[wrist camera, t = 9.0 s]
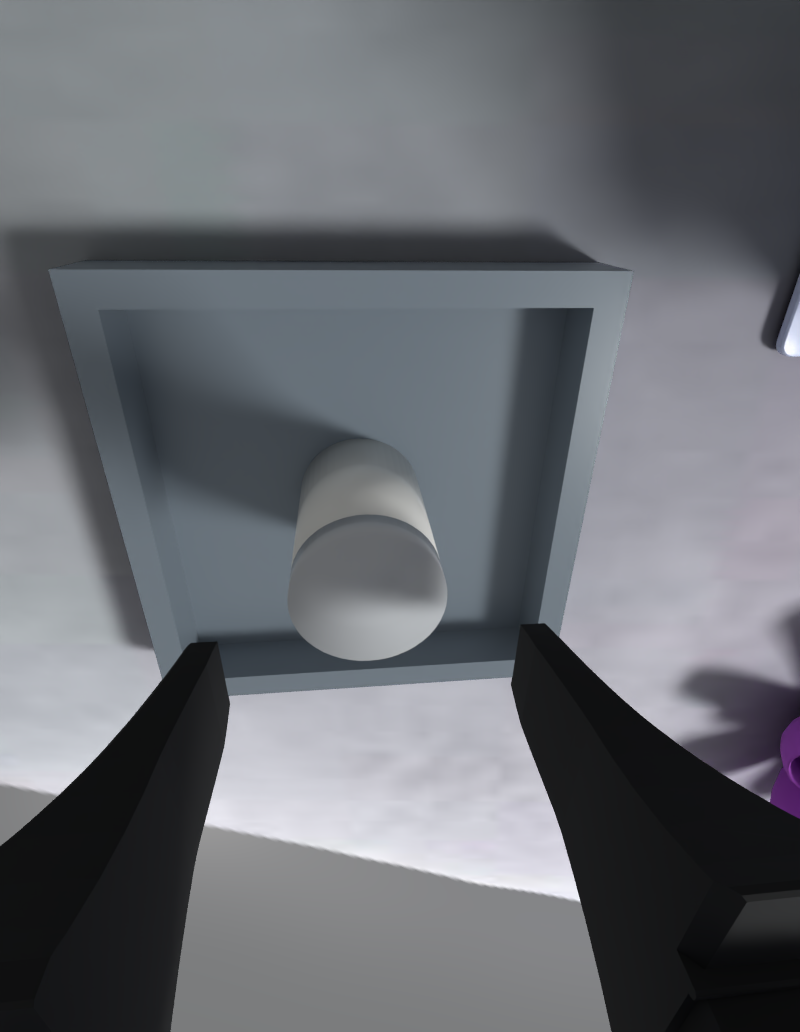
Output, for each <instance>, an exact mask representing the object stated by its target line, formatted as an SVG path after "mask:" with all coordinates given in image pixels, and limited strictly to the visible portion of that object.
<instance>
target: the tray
mask: <svg viewBox="0 0 800 1032" xmlns="http://www.w3.org/2000/svg"><path fill="white" fill-rule="evenodd" d="M48 271H49V274H50V278H51V281H52V285H53V289H54V292H55V296H56V299H57V303H58V307H59V310H60V314H61V317H62V321H63V324H64V328H65V332H66V335H67V339H68V342H69V346H70V350H71V353H72V357H73V360H74V364H75V368H76V371H77V375H78V378H79V382H80V385H81V389H82V393H83V396H84V400H85V403H86V407H87V411H88V414H89V418H90V421H91V425H92V429H93V432H94V436H95V439H96V443H97V446H98V450H99V454H100V457H101V461H102V464H103V468H104V472H105V475H106V479H107V482H108V486H109V490H110V493H111V497H112V500H113V504H114V507H115V511H116V515H117V518H118V522H119V525H120V529H121V533H122V536H123V540H124V543H125V547H126V551H127V554H128V558H129V561H130V565H131V568H132V572H133V576H134V579H135V583H136V586H137V590H138V594H139V597H140V601H141V604H142V608H143V612H144V615H145V619H146V622H147V626H148V629H149V633H150V637H151V640H152V644H153V647H154V651H155V655H156V658H157V662H158V665H159V669H160V673H161V676H162V679H163V678H164V677H165V675H166V674H167V673H168V671H169V670H170V669H171V667H172V666H173V665H174V663H175V662H176V660H177V659H178V658H179V656H180V655H181V654H182V652H183V651H184V649H185V648H186V647H187V646H188V645H189V644H190V643H197V642H215V641H217V642H218V647H219V652H220V657H221V662H222V666H223V671H224V676H225V681H226V686H227V691H228V696H233V695H248V694H263V693H279V692H294V691H309V690H324V689H339V688H355V687H370V686H385V685H400V684H415V683H430V682H446V681H461V680H476V679H491V678H506V677H512V676H513V669H514V663H515V657H516V650H517V644H518V638H519V631H520V625H521V624H537V623H545V624H546V625H547V626H548V627H549V628H550V629H551V630H552V631H553V632H554V633H555V634H556V635H557V636H558V637H559V635H560V630H561V625H562V620H563V615H564V610H565V605H566V601H567V596H568V591H569V586H570V581H571V576H572V571H573V566H574V561H575V557H576V552H577V547H578V542H579V537H580V532H581V527H582V522H583V518H584V513H585V508H586V503H587V498H588V493H589V488H590V483H591V479H592V474H593V469H594V464H595V459H596V454H597V449H598V444H599V440H600V435H601V430H602V425H603V420H604V415H605V410H606V405H607V400H608V396H609V391H610V386H611V381H612V376H613V371H614V366H615V361H616V357H617V352H618V347H619V342H620V337H621V332H622V327H623V322H624V318H625V313H626V308H627V303H628V298H629V293H630V288H631V283H632V279H633V274H634V271H632V270H627V269H623V268H619V267H615V266H611V265H607V264H603V263H599V262H378V261H144V260H85V261H81V262H77V263H73V264H68V265H64V266H60V267H56V268H52V269H48ZM350 439H371V440H376V441H379V442H383V443H385V444H387V445H390V446H391V447H393V448H395V449H396V450H397V451H399V452H400V453H401V454H402V455H403V456H404V457H405V458H406V459H407V460H408V462H409V463H410V464H411V466H412V468H413V470H414V472H415V475H416V478H417V481H418V485H419V488H420V492H421V495H422V499H423V502H424V506H425V509H426V513H427V516H428V520H429V523H430V527H431V531H432V534H433V538H434V541H435V545H436V548H437V552H438V555H439V559H440V562H441V566H442V569H443V573H444V576H445V580H446V585H447V604H446V608H445V611H444V614H443V616H442V618H441V620H440V622H439V624H438V625H437V627H436V628H435V629H434V630H433V632H432V633H431V634H430V635H429V636H428V637H427V638H426V639H425V640H423V641H422V642H421V643H419V644H418V645H417V646H415V647H413V648H411V649H410V650H408V651H406V652H403V653H401V654H399V655H396V656H393V657H389V658H385V659H380V660H371V661H356V660H348V659H342V658H338V657H335V656H332V655H329V654H327V653H325V652H322V651H321V650H319V649H317V648H315V647H314V646H313V645H311V644H310V643H308V642H307V641H306V640H305V639H304V638H303V637H302V636H301V635H300V633H299V632H298V631H297V629H296V628H295V626H294V624H293V623H292V620H291V617H290V615H289V610H288V601H287V597H288V589H289V581H290V573H291V565H292V557H293V549H294V541H295V533H296V525H297V517H298V509H299V501H300V493H301V486H302V480H303V477H304V474H305V472H306V469H307V468H308V466H309V465H310V463H311V462H312V460H313V459H314V458H315V457H316V456H317V455H318V454H319V453H320V452H322V451H323V450H325V449H326V448H328V447H329V446H331V445H333V444H335V443H338V442H341V441H345V440H350Z"/></svg>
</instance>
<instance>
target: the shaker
mask: <svg viewBox="0 0 800 1032" xmlns="http://www.w3.org/2000/svg"><path fill="white" fill-rule="evenodd" d="M287 601H288V610H289V615H290V617H291V620H292V623H293V624H294V626H295V628H296V629H297V631H298V632H299V633H300V635H301V636H302V637H303V638H304V639H305V640H306V641H307V642H308V643H310V644H311V645H313V646H314V647H315V648H317V649H319V650H321V651H322V652H325V653H327V654H329V655H332V656H335V657H338V658H342V659H348V660H356V661H371V660H380V659H385V658H389V657H393V656H396V655H399V654H401V653H403V652H406V651H408V650H410V649H411V648H413V647H415V646H417V645H418V644H419V643H421V642H422V641H423V640H425V639H426V638H427V637H428V636H429V635H430V634H431V633H432V632H433V630H434V629H435V628H436V627H437V625H438V624H439V622H440V620H441V618H442V616H443V614H444V611H445V608H446V604H447V585H446V580H445V576H444V573H443V569H442V566H441V562H440V559H439V555H438V552H437V548H436V545H435V541H434V538H433V534H432V531H431V527H430V523H429V520H428V516H427V513H426V509H425V506H424V502H423V499H422V495H421V492H420V488H419V485H418V481H417V478H416V475H415V472H414V470H413V468H412V466H411V464H410V463H409V462H408V460H407V459H406V458H405V457H404V456H403V455H402V454H401V453H400V452H399V451H397V450H396V449H395V448H393V447H391V446H390V445H387V444H385V443H383V442H379V441H376V440H371V439H350V440H345V441H341V442H338V443H335V444H333V445H331V446H329V447H328V448H326V449H325V450H323V451H322V452H320V453H319V454H318V455H317V456H316V457H315V458H314V459H313V460H312V462H311V463H310V465H309V466H308V468H307V469H306V472H305V474H304V477H303V480H302V486H301V493H300V501H299V509H298V517H297V525H296V533H295V541H294V549H293V557H292V565H291V573H290V581H289V589H288V597H287Z"/></svg>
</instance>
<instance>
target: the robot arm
mask: <svg viewBox="0 0 800 1032" xmlns="http://www.w3.org/2000/svg"><path fill="white" fill-rule="evenodd" d="M776 348H777V351H778V352H779V353H780V354H782V355H785V356H789V357H800V275H799V278H798V280H797V283H796V286H795V289H794V292H793V295H792V298H791V301H790V304H789V307H788V310H787V313H786V315H785V318H784V321H783V324H782V327H781V330H780V333H779V336H778V339H777V343H776ZM511 687H512V691H513V695H514V699H515V703H516V708H517V711H518V715H519V719H520V723H521V726H522V729H523V731H524V734H525V737H526V739H527V742H528V745H529V747H530V750H531V752H532V755H533V758H534V760H535V763H536V765H537V768H538V771H539V773H540V776H541V778H542V781H543V783H544V786H545V789H546V791H547V794H548V796H549V799H550V801H551V804H552V807H553V809H554V812H555V815H556V818H557V821H558V823H559V826H560V829H561V832H562V836H563V839H564V843H565V846H566V850H567V853H568V857H569V860H570V864H571V868H572V871H573V875H574V878H575V882H576V886H577V890H578V893H579V897H580V901H581V905H582V909H583V912H584V916H585V919H586V924H587V928H588V932H589V936H590V940H591V944H592V949H593V952H594V957H595V961H596V965H597V969H598V973H599V977H600V982H601V986H602V990H603V995H604V1000H605V1004H606V1009H607V1013H608V1018H609V1022H610V1027H611V1031H612V1032H800V819H799V818H797V817H795V816H793V815H791V814H789V813H788V812H786V811H784V810H782V809H780V808H779V807H777V806H775V805H773V804H771V803H770V802H768V801H766V800H764V799H763V798H761V797H759V796H757V795H756V794H754V793H752V792H750V791H749V790H747V789H745V788H744V787H742V786H741V785H739V784H737V783H736V782H734V781H732V780H731V779H729V778H727V777H726V776H724V775H723V774H721V773H720V772H718V771H717V770H715V769H714V768H712V767H711V766H709V765H708V764H706V763H705V762H703V761H702V760H700V759H698V758H697V757H696V756H694V755H693V754H691V753H690V752H688V751H687V750H686V749H684V748H683V747H681V746H680V745H679V744H677V743H676V742H675V741H673V740H672V739H671V738H669V737H668V736H667V735H665V734H664V733H663V732H661V731H660V730H659V729H657V728H656V727H655V726H654V725H652V724H651V723H650V722H649V721H647V720H646V719H645V718H644V717H642V716H641V715H640V714H639V713H638V712H637V711H635V710H634V709H633V708H632V707H631V706H630V705H628V704H627V703H626V702H625V701H624V700H623V699H621V698H620V697H619V696H618V695H617V694H616V693H615V692H614V691H613V690H612V689H611V688H610V687H608V686H607V685H606V684H605V683H604V682H603V681H602V680H601V679H600V678H599V677H598V676H597V675H596V674H595V673H594V672H593V671H592V670H591V669H590V668H589V667H588V666H587V665H586V664H585V663H584V662H583V661H582V660H581V659H580V658H579V657H578V656H577V655H576V654H575V653H574V652H573V651H572V650H571V649H570V648H569V647H568V646H567V645H566V644H565V643H564V642H563V641H562V640H561V639H560V638H559V637H558V636H557V635H556V634H555V633H554V632H553V631H552V630H551V629H550V628H549V627H548V626H547V625H546V624H545V623H537V624H521V625H520V631H519V638H518V644H517V650H516V657H515V663H514V669H513V676H512V682H511ZM229 707H230V701H229V696H228V691H227V686H226V681H225V676H224V671H223V666H222V662H221V657H220V652H219V647H218V642H217V641H215V642H197V643H190V644H189V645H188V646H187V647H186V648H185V649H184V651H183V652H182V654H181V655H180V656H179V658H178V659H177V660H176V662H175V663H174V665H173V666H172V667H171V669H170V670H169V671H168V673H167V674H166V675H165V677H164V678H163V679H162V681H161V682H160V683H159V685H158V686H157V687H156V688H155V690H154V691H153V692H152V694H151V695H150V696H149V697H148V698H147V700H146V701H145V702H144V703H143V705H142V706H141V707H140V708H139V710H138V711H137V712H136V713H135V715H134V716H133V717H132V718H131V719H130V721H129V722H128V723H127V724H126V725H125V726H124V728H123V729H122V730H121V731H120V732H119V733H118V734H117V735H116V737H115V738H114V739H113V740H112V741H111V742H110V743H109V744H108V746H107V747H106V748H105V749H104V750H103V751H102V752H101V753H100V754H99V756H98V757H97V758H96V759H95V760H94V761H93V762H92V763H91V764H90V765H89V766H88V767H87V768H86V769H85V770H84V771H83V772H82V773H81V774H80V775H79V776H78V777H77V778H76V779H75V780H74V781H73V782H72V783H71V784H70V785H69V786H68V787H67V788H66V789H65V790H64V791H63V792H62V793H61V794H60V795H59V796H57V797H56V798H55V799H54V800H53V801H52V802H51V803H50V804H49V805H48V806H46V807H45V808H44V809H43V810H42V811H41V812H40V813H39V814H38V815H37V816H35V817H34V818H33V819H32V820H31V821H30V822H29V823H27V824H26V825H25V826H24V827H23V828H22V829H21V830H20V831H18V832H17V833H16V834H15V835H14V836H12V837H11V838H10V839H9V840H8V841H6V842H5V843H4V844H2V845H1V846H0V1032H170V1030H171V1022H172V1014H173V1007H174V999H175V992H176V984H177V976H178V969H179V961H180V955H181V948H182V941H183V934H184V928H185V921H186V914H187V908H188V902H189V896H190V890H191V883H192V877H193V871H194V865H195V861H196V855H197V851H198V847H199V842H200V838H201V835H202V831H203V827H204V823H205V819H206V815H207V812H208V808H209V804H210V800H211V796H212V792H213V788H214V785H215V781H216V777H217V773H218V769H219V765H220V761H221V757H222V753H223V749H224V744H225V737H226V730H227V723H228V715H229Z"/></svg>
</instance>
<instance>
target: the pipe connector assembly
mask: <svg viewBox="0 0 800 1032" xmlns="http://www.w3.org/2000/svg"><path fill="white" fill-rule="evenodd" d="M780 753H781V758H782V762H783V767H782V769H781V770H780V772H779V775H778V777H777V779H776V781H775V784H774V786H773V788H772V793H771V799H770V803H771V804H773V805H775V806H777V807H779V808H780V809H782V810H784V811H786V812H788V813H789V814H791V815H793V816H795V817H797V818H799V819H800V716H799V717H797V718H796V719H794V720H792V722H791V723H790V724H789V725H788V727H787V728H786V729H785V730H784V732H783V733H782V737H781V744H780Z"/></svg>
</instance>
